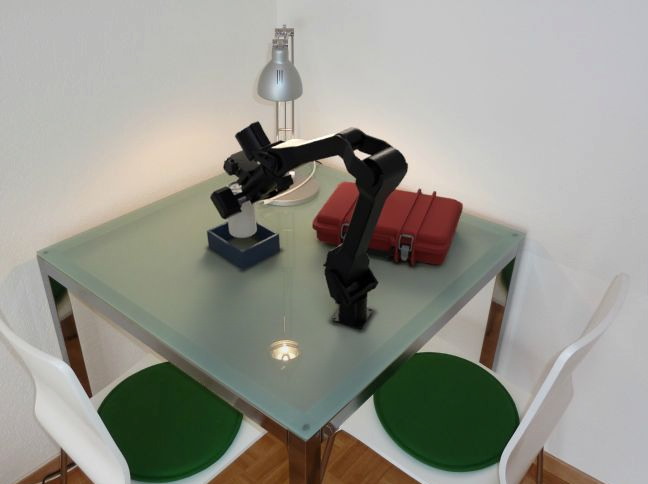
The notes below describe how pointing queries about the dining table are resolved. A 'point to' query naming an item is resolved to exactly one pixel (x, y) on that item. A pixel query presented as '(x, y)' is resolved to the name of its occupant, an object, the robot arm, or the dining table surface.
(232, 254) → the case
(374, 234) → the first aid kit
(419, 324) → the dining table surface
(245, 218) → the can
